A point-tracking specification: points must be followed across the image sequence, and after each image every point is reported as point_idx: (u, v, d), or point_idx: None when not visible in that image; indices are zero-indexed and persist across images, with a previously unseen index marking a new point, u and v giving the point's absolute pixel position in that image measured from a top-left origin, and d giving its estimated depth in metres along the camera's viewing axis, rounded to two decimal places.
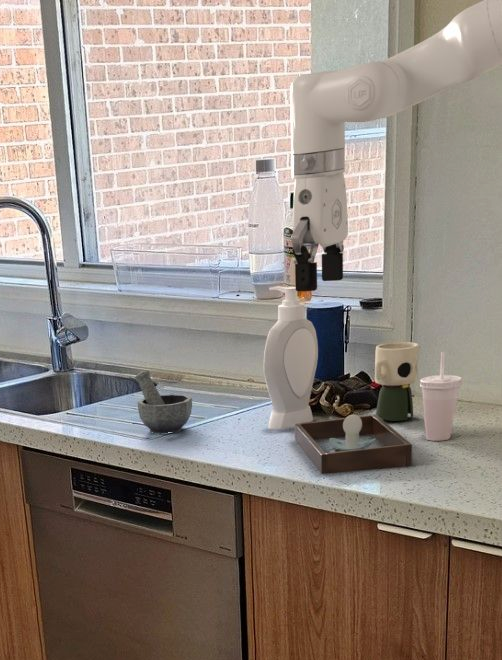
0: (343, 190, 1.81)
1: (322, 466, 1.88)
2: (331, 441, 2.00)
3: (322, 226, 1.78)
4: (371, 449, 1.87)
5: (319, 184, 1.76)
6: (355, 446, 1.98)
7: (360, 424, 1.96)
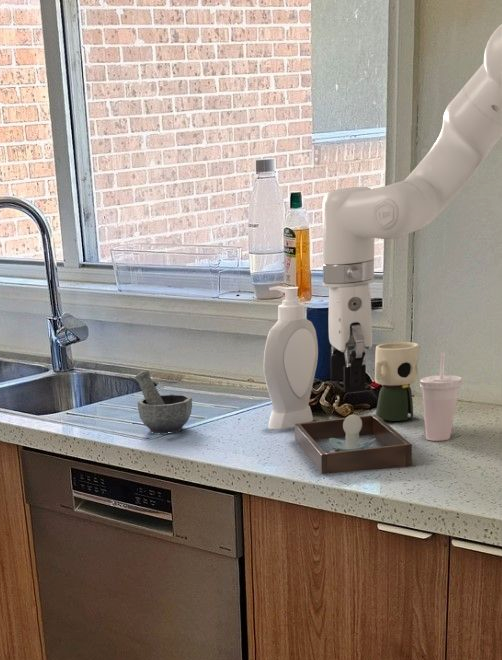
0: None
1: (322, 466, 1.88)
2: (331, 441, 2.00)
3: (371, 330, 1.86)
4: (371, 449, 1.87)
5: (368, 292, 1.84)
6: (355, 446, 1.98)
7: (360, 424, 1.96)
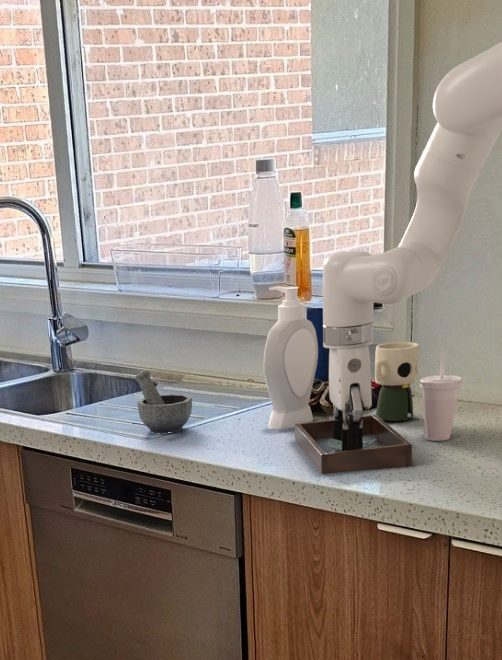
0: None
1: (322, 466, 1.88)
2: (331, 442, 1.99)
3: None
4: (371, 449, 1.87)
5: (367, 354, 1.88)
6: None
7: None
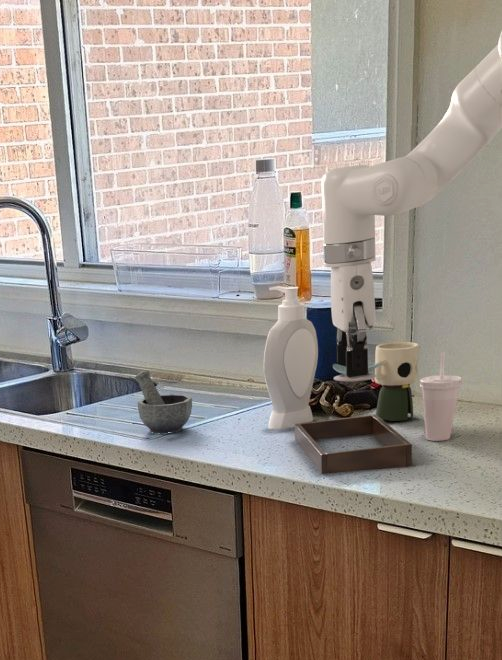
0: None
1: (322, 466, 1.88)
2: (335, 367, 1.94)
3: (374, 309, 1.84)
4: (371, 449, 1.87)
5: (370, 270, 1.83)
6: None
7: None
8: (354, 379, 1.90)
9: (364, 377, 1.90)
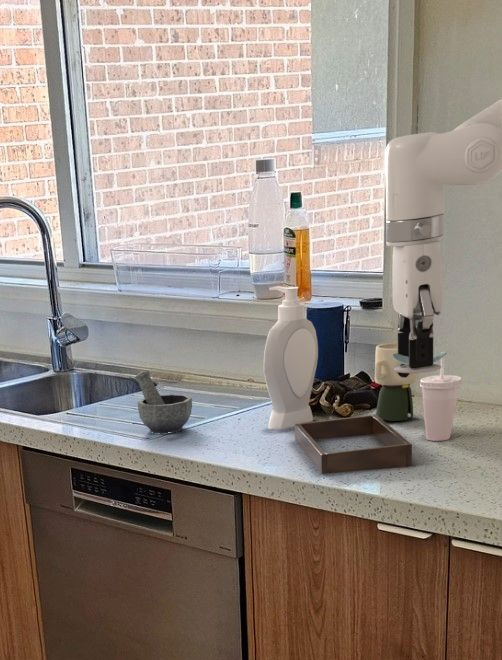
0: None
1: (322, 466, 1.88)
2: (395, 357, 1.76)
3: (442, 293, 1.66)
4: (371, 449, 1.87)
5: (438, 250, 1.65)
6: None
7: None
8: (417, 370, 1.72)
9: (428, 368, 1.72)
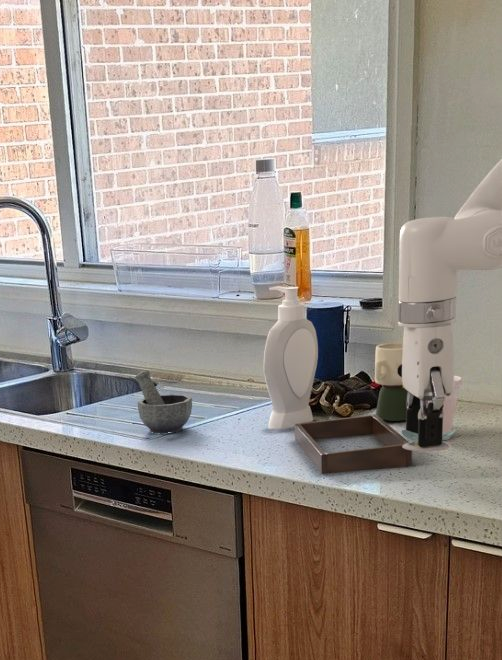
0: None
1: (322, 466, 1.88)
2: (404, 434, 1.77)
3: (453, 375, 1.68)
4: (371, 449, 1.87)
5: (450, 333, 1.66)
6: None
7: None
8: (426, 449, 1.73)
9: (437, 447, 1.73)
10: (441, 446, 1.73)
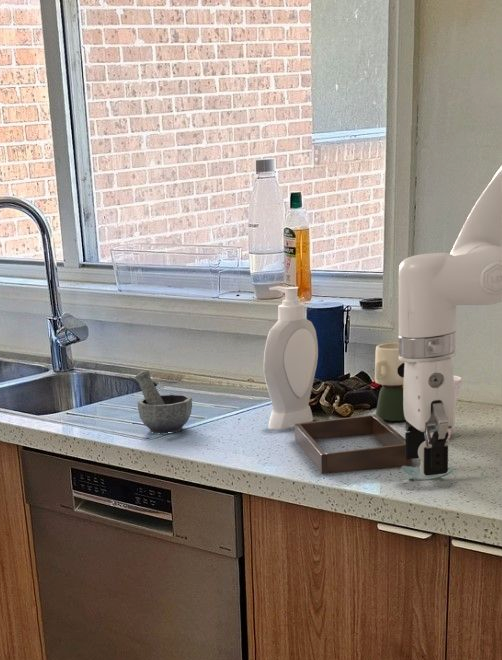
0: None
1: (322, 466, 1.88)
2: (404, 469, 1.79)
3: (454, 408, 1.69)
4: (371, 449, 1.87)
5: (450, 367, 1.68)
6: (432, 475, 1.78)
7: None
8: None
9: None
10: None
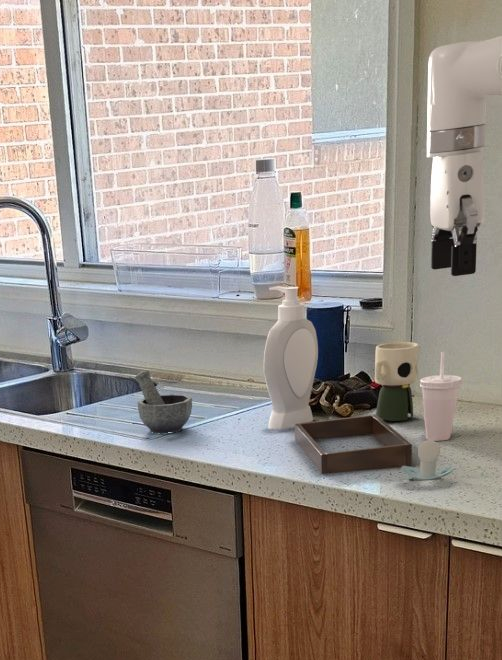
0: None
1: (322, 466, 1.88)
2: (404, 469, 1.79)
3: (483, 204, 1.67)
4: (371, 449, 1.87)
5: (480, 160, 1.65)
6: (432, 475, 1.78)
7: (438, 451, 1.76)
8: None
9: None
10: None
